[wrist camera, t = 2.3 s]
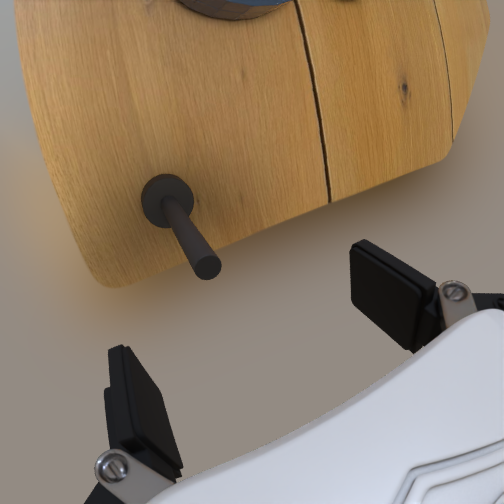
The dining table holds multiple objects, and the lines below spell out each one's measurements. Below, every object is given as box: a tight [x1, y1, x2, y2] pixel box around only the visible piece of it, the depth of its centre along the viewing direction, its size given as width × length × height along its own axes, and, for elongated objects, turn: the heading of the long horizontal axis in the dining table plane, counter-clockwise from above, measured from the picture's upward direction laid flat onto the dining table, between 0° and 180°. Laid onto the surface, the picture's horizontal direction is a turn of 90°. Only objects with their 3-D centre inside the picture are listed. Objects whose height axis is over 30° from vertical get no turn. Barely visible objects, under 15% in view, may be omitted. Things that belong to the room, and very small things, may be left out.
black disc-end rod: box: [141, 174, 221, 280], centre depth 21 cm, size 4×4×14 cm
